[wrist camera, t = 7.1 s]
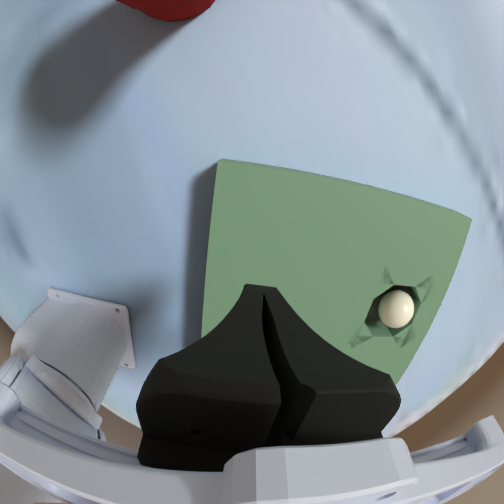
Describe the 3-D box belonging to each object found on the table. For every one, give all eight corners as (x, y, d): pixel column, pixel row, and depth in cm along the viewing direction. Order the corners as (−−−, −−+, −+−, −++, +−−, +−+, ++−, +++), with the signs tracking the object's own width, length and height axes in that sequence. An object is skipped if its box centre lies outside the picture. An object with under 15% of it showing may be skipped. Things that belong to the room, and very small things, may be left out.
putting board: (202, 359, 25) (199, 377, 23) (222, 158, 18) (217, 161, 16) (388, 368, 26) (396, 384, 24) (454, 210, 19) (471, 219, 17)
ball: (392, 312, 23) (366, 314, 22) (405, 282, 22) (379, 283, 21) (411, 333, 20) (385, 337, 20) (426, 302, 19) (401, 305, 18)
